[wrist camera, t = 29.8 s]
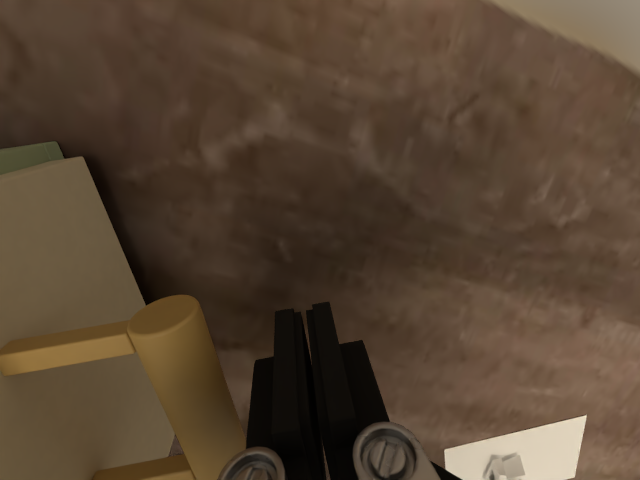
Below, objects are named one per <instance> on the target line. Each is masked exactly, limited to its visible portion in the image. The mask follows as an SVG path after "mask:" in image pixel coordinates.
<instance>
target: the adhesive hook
mask: <svg viewBox="0 0 640 480" xmlns="http://www.w3.org/2000/svg"><path fill="white" fill-rule="evenodd" d="M484 480H527V476H526V471H525V468H524V464H523V461H522V457H521V455H520V454H518V455H515V456H513V457H510V458H508V459H505V460H503V459H502V458H501V457H500V458H495V459H492V460H491V463H490V466H489V468H488V470H487V472H486V474H485V476H484Z"/></svg>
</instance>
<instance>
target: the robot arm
mask: <svg viewBox="0 0 640 480" xmlns="http://www.w3.org/2000/svg"><path fill="white" fill-rule="evenodd" d="M312 308H313V309H312V310H306V315H307V324H308V333H309V342H310V351H311V359H310V354H309V349H308V344H307V339H306V334H305V330H304V325H303V320H302V315H301V312H295V313H294V309H293V308H291V309H285V310H280V311H276V312H275V333H274V357H269V358H264V359H258V360H256V361H255V364H254V372H253V382H252V391H251V401H250V411H249V421H248V430H247V440H246V449H245V450H243V451H241V452H240V453H238V454H236V455H235V456H234V457H233V458H232V459H230V460H229V461H228V462H227V464H226V465H225V466H224V468H223V469H222V470H221V472H220V474H219V476H218V479H217V480H326V471H325V463H324V454H323V446H324V451H325V455H326V460H327V465H328V469H329V474H330V479H331V480H462V479H460V478H459V477H457V476H455V475H454V474H452V473H450V472H448V471H447V470H445V469H443V468H442V467H440V466H438V465H437V464H435V463H433V462H431V461H430V460H429V458H428V456H427V455H426V453H425V451H424V449H423V448H422V446H421V444H420V442H419V441H418V440H417V438H416V437H415V436H414V434H413V433H412V432H410V431H409V430H408V429H406V428H405V427H404V426H401V425H399V424H396V423H393V422H390V421H389V418H388V415H387V412H386V409H385V406H384V403H383V400H382V397H381V394H380V391H379V388H378V385H377V382H376V379H375V375H374V372H373V369H372V366H371V363H370V360H369V357H368V354H367V351H366V348H365V345H364V343H363V341H362V340H359V341H354V342H349V343H343V344H339V342H338V337H337V333H336V329H335V324H334V320H333V316H332V311H331V307H330V303H329V302H323V303H318V304H313V305H312ZM311 360H312V364H311ZM322 441H323V445H322Z"/></svg>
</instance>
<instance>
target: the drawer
mask: <svg viewBox="0 0 640 480" xmlns="http://www.w3.org/2000/svg"><path fill="white" fill-rule="evenodd" d="M175 435H176V437H177V439H178V441H179V443H180V445H181V448H182V450H183V452H184V454H181V455H176V456H171V457H168V455H169V452H170V449H171V446H172V443H173V439H174V436H175ZM245 449H246V438H245V436H244V433H243V430H242V427H241V424H240V421H239V418H238V415H237V412H236V409H235V406H234V403H233V400H232V397H231V394H230V392H229V389H228V386H227V383H226V380H225V377H224V374H223V371H222V368H221V365H220V362H219V359H218V356H217V353H216V350H215V348H214V345H213V342H212V339H211V336H210V333H209V330H208V327H207V324H206V321H205V318H204V315H203V312H202V309H201V306H200V304H199V302H198V300H197V299H196V298H194V297H192V296H189V295H174V296H169V297H165V298H162V299H159V300H157V301H154V302H152V303H150V304H148V305H147V306H146V305H145V302H144V300H143V297H142V295H141V293H140V290H139V288H138V286H137V283H136V281H135V279H134V276H133V274H132V271H131V269H130V267H129V264H128V262H127V260H126V257H125V255H124V252H123V250H122V248H121V245H120V243H119V241H118V238H117V236H116V234H115V231H114V229H113V226H112V224H111V222H110V219H109V217H108V215H107V212H106V210H105V208H104V205H103V203H102V200H101V198H100V196H99V193H98V191H97V189H96V186H95V184H94V181H93V179H92V177H91V174H90V172H89V170H88V167H87V165H86V163H85V160H84V158H83V157H81V156H80V157H74V158H67V159H60V160H54V161H49V162H45V163H41V164H38V165H34V166H31V167H27V168H23V169H20V170H16V171H13V172H9V173H5V174H2V175H0V480H217V479H218V476H219V474H220V472H221V470H222V469H223V468H224V466H225V465H226V464H227V462H228V461H229V460H230V459H232V458H233V457H234V456H235V455H236V454H238V453H240V452H241V451H243V450H245Z"/></svg>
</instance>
